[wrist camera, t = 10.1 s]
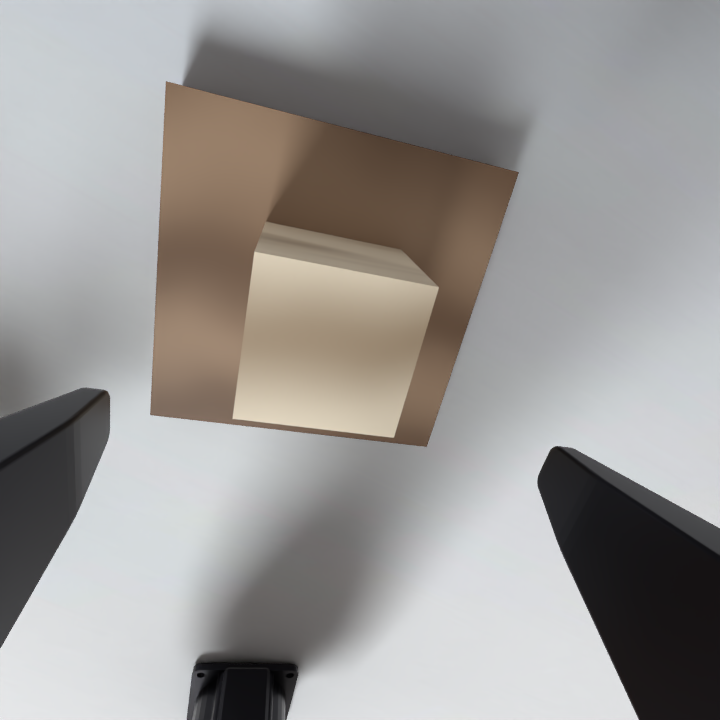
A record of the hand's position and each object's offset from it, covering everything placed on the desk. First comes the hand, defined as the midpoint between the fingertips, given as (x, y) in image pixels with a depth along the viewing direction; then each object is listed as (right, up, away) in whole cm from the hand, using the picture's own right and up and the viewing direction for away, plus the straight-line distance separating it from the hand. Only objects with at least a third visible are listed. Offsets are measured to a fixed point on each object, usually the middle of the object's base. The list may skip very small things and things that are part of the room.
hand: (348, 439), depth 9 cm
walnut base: (-1, +5, +10) cm, 11 cm away
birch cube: (-1, +4, +8) cm, 9 cm away
